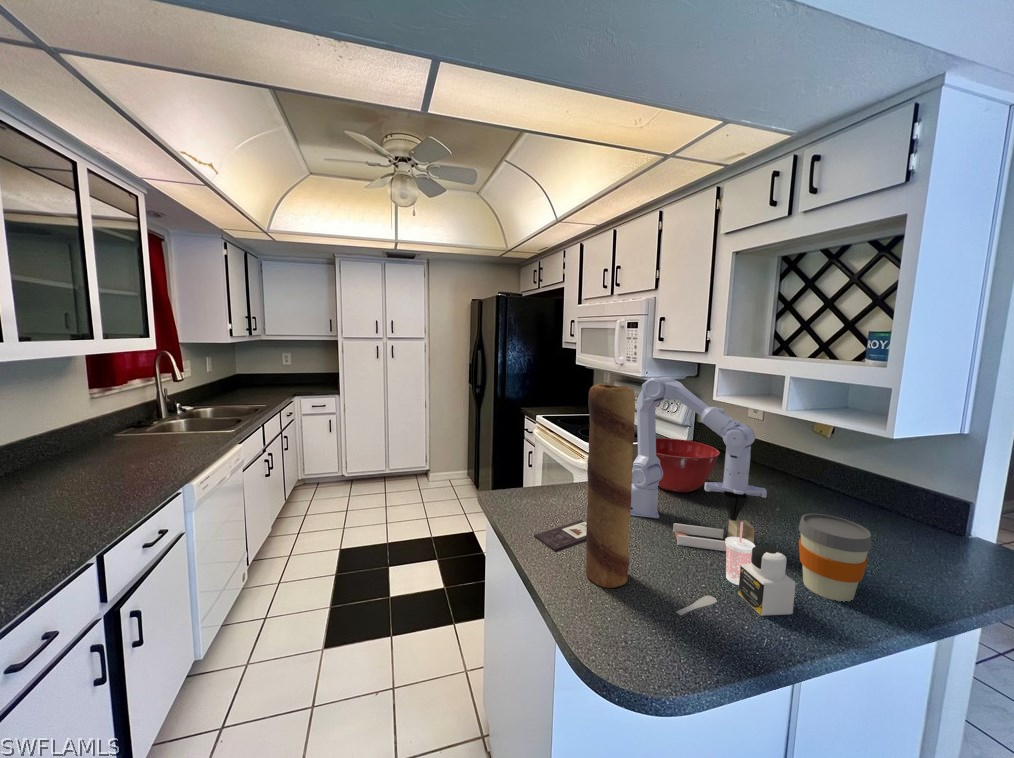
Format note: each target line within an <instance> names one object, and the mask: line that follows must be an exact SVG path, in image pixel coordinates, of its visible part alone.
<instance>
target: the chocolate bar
mask: <svg viewBox="0 0 1014 758" xmlns="http://www.w3.org/2000/svg"><path fill="white" fill-rule="evenodd" d="M586 525H587V521H584V520H582V519H581V520H578V521H574V522H571V523H567V524H565V525H561V526H558V527H556V528H551V529H549V530H546V531H543V532H539V533H536V534H534V535H533V537H534V538H535V539H536V540H538V541H539V542H540V543H542V544H543V545H545V546H546V547H547V548H549V549H550V550H552V551H553V552H558V551H560V550H563V549H566V548H569V547H571V546H574V545H577V544H580V543H583V542H586V531H587V526H586Z"/></svg>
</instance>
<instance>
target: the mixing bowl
mask: <svg viewBox="0 0 1014 758" xmlns="http://www.w3.org/2000/svg"><path fill="white" fill-rule="evenodd" d="M637 446H638V442H637ZM720 455H721V454H720V451H719V449H717V448H715V447H713V446H711V445H708V444H704V443H701V442H697V441H692V440H687V439H680V438H668V437H667V438H666V437H656V456H657V457H658V458H659V460H660V465H661V468H662V470H663V477H662V479H661V480H660V481H659V485H658V486H659V487H658V488H660V489H663V490H666V491H669V492H673V493H674V492H675V493H690V492H693V491H695V490H698V489H699V488H701V487H702V486H703V485H705V482H707V479H708V478H709V477H710V475H711V473H712V471H713V469H714V467H715V465H716V462H717V460H718V456H720Z"/></svg>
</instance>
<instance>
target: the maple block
mask: <svg viewBox="0 0 1014 758" xmlns="http://www.w3.org/2000/svg"><path fill="white" fill-rule="evenodd" d="M741 522H743V531H742V538H743V539H746V540H749V541H750V542H752V543H753V544H754V540H755V539H754V538H755V530H756V529H755V526H753V525H752V524H751V523H749V522H748V520H746V519H745V520H744V519H736V521H733V520H730V519H728V529H727V537H740V526H741Z"/></svg>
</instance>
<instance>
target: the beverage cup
mask: <svg viewBox="0 0 1014 758" xmlns="http://www.w3.org/2000/svg"><path fill="white" fill-rule="evenodd" d="M742 531H743V522H741V526H740V537H728V536H727V537H725V538H724V539H725V540H724V541H725V544H726V551H725V554H726V555H725V562H726V563H725V577H726V579H727V581H729V582H730V583H732V584H733V585H737V586H739V579H740V567H741V564H751V557H752V549H753V548H754V547H755V546H756V545H755V543H754V542H753V543H752V542H750V541H749V540H746V539H743V538H742Z"/></svg>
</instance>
